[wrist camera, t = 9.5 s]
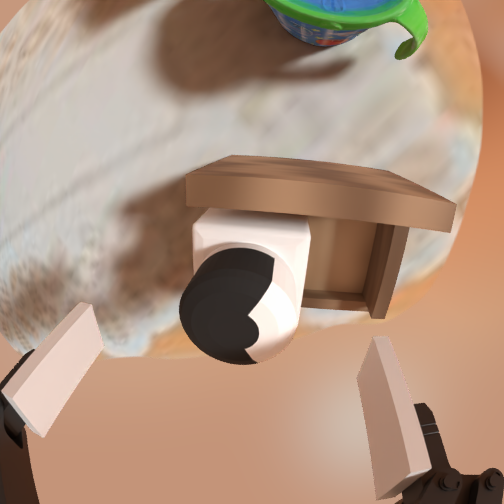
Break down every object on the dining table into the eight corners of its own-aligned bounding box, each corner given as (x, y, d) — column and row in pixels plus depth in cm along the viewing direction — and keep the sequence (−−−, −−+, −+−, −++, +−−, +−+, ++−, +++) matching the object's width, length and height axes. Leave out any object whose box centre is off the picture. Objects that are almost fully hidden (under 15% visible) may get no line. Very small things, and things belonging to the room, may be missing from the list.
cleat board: (229, 277, 29) (196, 361, 18) (231, 155, 24) (185, 174, 13) (365, 289, 28) (397, 374, 17) (388, 170, 23) (456, 204, 12)
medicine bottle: (217, 274, 26) (172, 368, 15) (217, 196, 23) (156, 256, 12) (296, 281, 26) (296, 385, 15) (305, 203, 23) (319, 272, 12)
